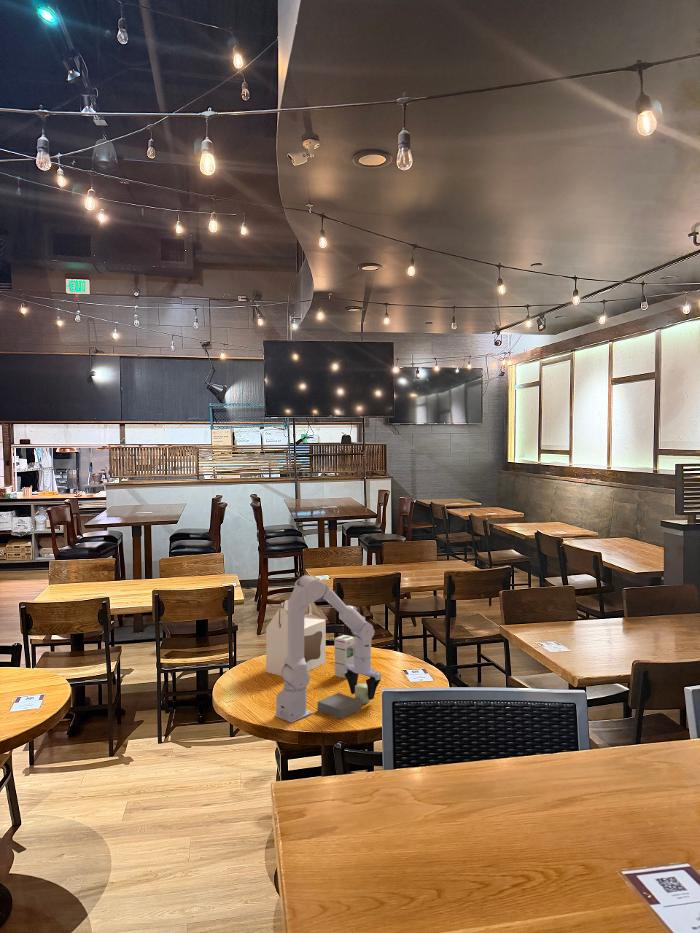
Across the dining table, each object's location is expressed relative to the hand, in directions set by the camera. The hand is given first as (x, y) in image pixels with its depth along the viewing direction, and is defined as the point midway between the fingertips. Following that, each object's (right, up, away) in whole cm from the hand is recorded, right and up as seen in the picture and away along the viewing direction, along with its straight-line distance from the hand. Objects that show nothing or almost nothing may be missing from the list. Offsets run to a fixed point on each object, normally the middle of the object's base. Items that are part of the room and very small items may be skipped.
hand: (362, 696), depth 209 cm
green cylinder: (0, -2, 0) cm, 2 cm away
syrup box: (-6, -2, +25) cm, 26 cm away
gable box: (-25, -2, +33) cm, 42 cm away
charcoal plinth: (-8, -2, -8) cm, 11 cm away
